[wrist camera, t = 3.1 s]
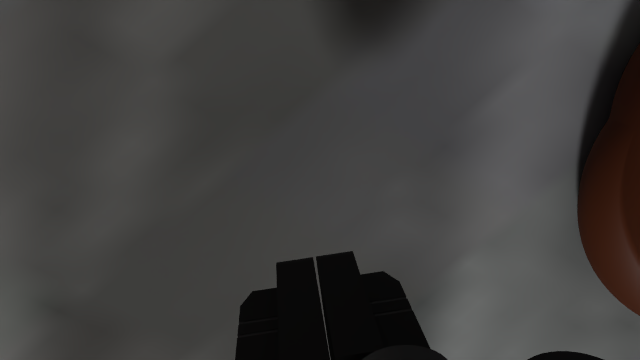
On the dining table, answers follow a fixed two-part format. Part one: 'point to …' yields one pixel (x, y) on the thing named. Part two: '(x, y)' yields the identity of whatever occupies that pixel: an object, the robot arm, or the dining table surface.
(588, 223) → the poop emoji
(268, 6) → the dining table surface
